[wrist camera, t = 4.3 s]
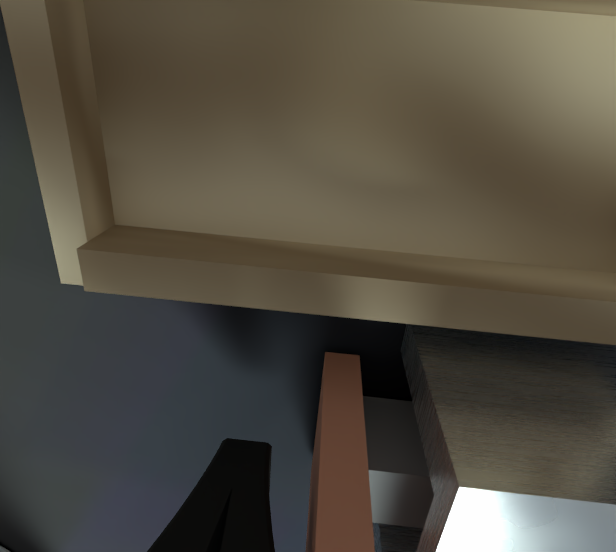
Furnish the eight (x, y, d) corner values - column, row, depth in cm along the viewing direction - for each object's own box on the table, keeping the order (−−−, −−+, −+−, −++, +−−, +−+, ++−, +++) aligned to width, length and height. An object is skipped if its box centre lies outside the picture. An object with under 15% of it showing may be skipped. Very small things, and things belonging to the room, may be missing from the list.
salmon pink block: (545, 495, 14) (695, 792, 8) (311, 469, 14) (292, 739, 8) (604, 381, 11) (870, 677, 6) (325, 351, 12) (312, 607, 6)
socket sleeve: (563, 515, 14) (675, 730, 10) (369, 493, 15) (384, 693, 10) (661, 341, 11) (908, 537, 6) (408, 315, 11) (459, 487, 6)
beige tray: (623, 301, 11) (695, 357, 8) (106, 250, 11) (49, 291, 9) (785, -33, 7) (969, -82, 5) (53, -88, 8) (-55, -154, 6)
